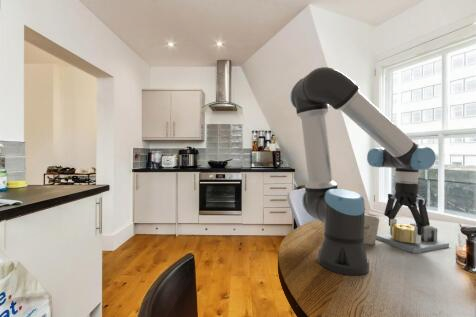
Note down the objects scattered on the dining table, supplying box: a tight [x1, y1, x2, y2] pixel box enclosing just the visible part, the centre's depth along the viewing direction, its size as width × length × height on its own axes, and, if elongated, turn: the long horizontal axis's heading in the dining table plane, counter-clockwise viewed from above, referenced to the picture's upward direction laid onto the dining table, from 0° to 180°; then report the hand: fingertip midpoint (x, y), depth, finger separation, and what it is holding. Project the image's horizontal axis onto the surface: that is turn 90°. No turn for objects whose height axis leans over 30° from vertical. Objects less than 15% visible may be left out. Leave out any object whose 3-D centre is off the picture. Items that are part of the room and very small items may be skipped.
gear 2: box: [409, 223, 438, 242], centre depth 99 cm, size 9×9×6 cm
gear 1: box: [391, 223, 414, 243], centre depth 96 cm, size 9×9×5 cm
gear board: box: [376, 226, 450, 254], centre depth 98 cm, size 20×16×7 cm
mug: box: [363, 215, 380, 246], centre depth 98 cm, size 8×13×10 cm, turn 78°
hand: (404, 238), depth 96 cm, fingers closed on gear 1, 9 cm apart
